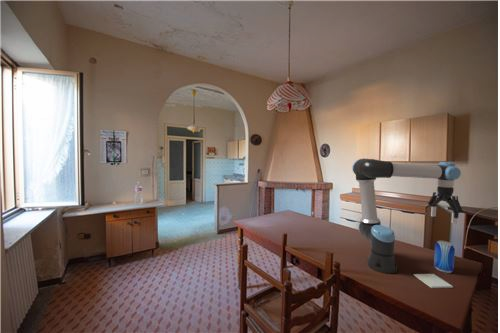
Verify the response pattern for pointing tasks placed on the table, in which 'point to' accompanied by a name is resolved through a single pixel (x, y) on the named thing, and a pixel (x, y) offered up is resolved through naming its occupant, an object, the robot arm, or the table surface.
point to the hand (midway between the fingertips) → (443, 219)
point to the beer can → (444, 256)
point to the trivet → (433, 281)
